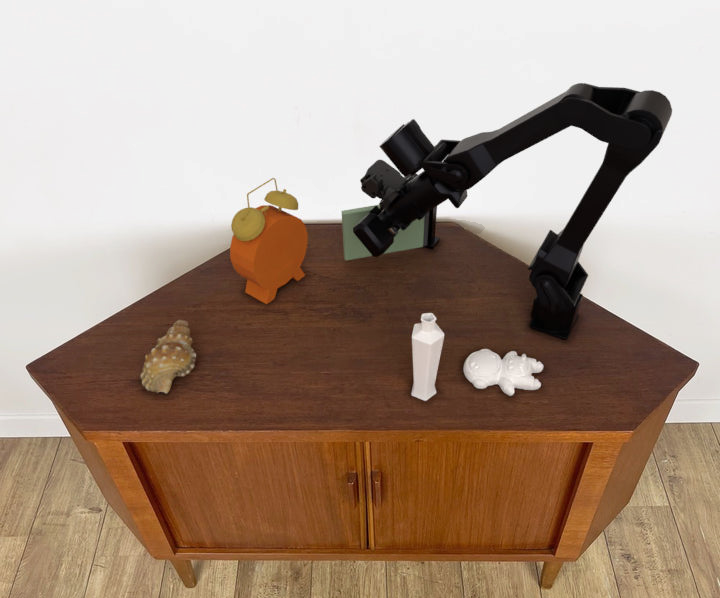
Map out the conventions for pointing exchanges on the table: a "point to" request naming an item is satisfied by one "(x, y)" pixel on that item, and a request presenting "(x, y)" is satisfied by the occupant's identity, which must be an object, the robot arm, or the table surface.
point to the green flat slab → (402, 241)
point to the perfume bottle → (426, 356)
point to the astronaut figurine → (502, 371)
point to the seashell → (169, 359)
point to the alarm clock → (268, 244)
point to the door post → (432, 229)
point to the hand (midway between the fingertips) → (365, 233)
